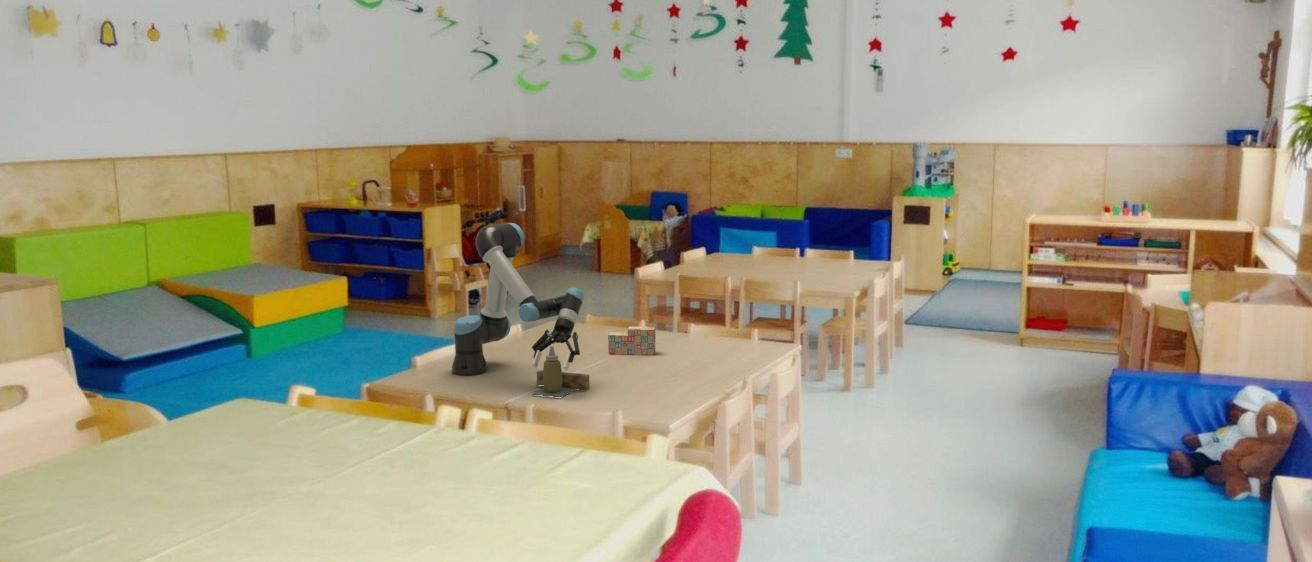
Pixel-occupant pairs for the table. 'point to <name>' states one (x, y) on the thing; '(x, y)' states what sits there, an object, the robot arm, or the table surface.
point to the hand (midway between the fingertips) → (549, 367)
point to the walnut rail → (569, 380)
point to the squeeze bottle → (552, 372)
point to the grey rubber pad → (560, 393)
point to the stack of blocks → (633, 341)
